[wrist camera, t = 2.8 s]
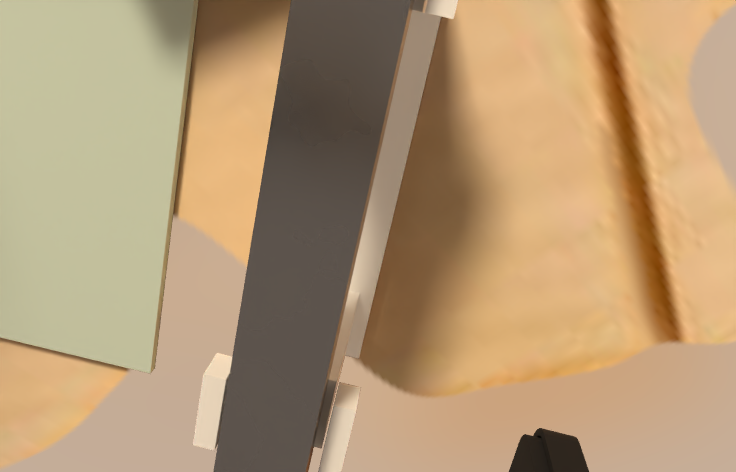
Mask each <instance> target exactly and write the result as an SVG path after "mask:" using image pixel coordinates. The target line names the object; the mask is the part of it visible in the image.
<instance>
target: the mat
mask: <svg viewBox="0 0 736 472" xmlns="http://www.w3.org/2000/svg"><path fill="white" fill-rule="evenodd" d="M198 2H199V0H0V338H5V339H9V340H13V341H17V342H21V343H25V344H30V345H34V346H38V347H42V348H46V349H50V350H54V351H59V352H63V353H67V354H71V355H75V356H79V357H84V358H88V359H92V360H96V361H100V362H104V363H108V364H113V365H117V366H121V367H125V368H129V369H133V370H138V371H142V372H146V373H151V372H152V371H153V369H154V368H155V362H156V354H157V346H158V337H159V329H160V320H161V311H162V302H163V295H164V286H165V278H166V270H167V261H168V253H169V245H170V236H171V228H172V220H173V211H174V203H175V195H176V186H177V178H178V169H179V161H180V153H181V144H182V136H183V127H184V119H185V111H186V102H187V94H188V85H189V77H190V69H191V60H192V52H193V44H194V35H195V27H196V18H197V10H198Z"/></svg>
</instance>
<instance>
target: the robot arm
mask: <svg viewBox="0 0 736 472" xmlns="http://www.w3.org/2000/svg"><path fill="white" fill-rule="evenodd" d="M509 472H589V470H588V467H587V464H586V461H585V459H584V455H583V453H582V449H581V446H580V443H579V441H578V439H577V438H576V437H574V436H570V435H566V434H562V433H558V432H554V431H550V430H546V429H542V428H539V429H537V430H536V432H535V433H534V436H530V435H526V434H525V435H523V436H522V437H521V439H520V442H519V444H518V447H517V450H516V453H515V456H514V459H513V461H512V464H511V467H510V470H509Z"/></svg>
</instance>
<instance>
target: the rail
mask: <svg viewBox="0 0 736 472" xmlns="http://www.w3.org/2000/svg"><path fill="white" fill-rule="evenodd" d="M413 5H414V0H291V5H290V11H289V17H288V23H287V29H286V35H285V41H284V47H283V53H282V59H281V66H280V72H279V78H278V84H277V90H276V96H275V102H274V108H273V114H272V120H271V126H270V132H269V138H268V144H267V150H266V157H265V163H264V169H263V175H262V181H261V187H260V193H259V199H258V205H257V211H256V217H255V223H254V229H253V235H252V241H251V247H250V254H249V260H248V266H247V272H246V278H245V284H244V290H243V296H242V303H241V308H240V314H239V320H238V327H237V333H236V338H235V345H234V351H233V357H232V363H231V369H230V375H229V381H228V387H227V393H226V399H225V405H224V411H223V417H222V423H221V429H220V435H219V442H218V448H217V454H216V460H215V466H214V472H308V470H309V465H310V461H311V456H312V452H313V448H314V443H315V439H316V434H317V430H318V426H319V421H320V417H321V412H322V408H323V403H324V399H325V395H326V390H327V386H328V381H329V377H330V372H331V368H332V364H333V359H334V355H335V350H336V346H337V341H338V337H339V333H340V328H341V324H342V319H343V315H344V310H345V306H346V302H347V297H348V293H349V288H350V284H351V279H352V275H353V271H354V266H355V262H356V257H357V253H358V248H359V244H360V240H361V235H362V231H363V226H364V222H365V217H366V213H367V209H368V204H369V200H370V195H371V191H372V186H373V182H374V178H375V173H376V169H377V164H378V160H379V155H380V151H381V147H382V142H383V138H384V133H385V129H386V124H387V120H388V116H389V111H390V107H391V102H392V98H393V93H394V89H395V85H396V80H397V76H398V71H399V67H400V62H401V58H402V54H403V49H404V45H405V40H406V36H407V31H408V27H409V22H410V18H411V14H412V9H413Z"/></svg>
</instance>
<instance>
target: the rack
mask: <svg viewBox="0 0 736 472" xmlns="http://www.w3.org/2000/svg"><path fill="white" fill-rule="evenodd" d="M457 2H458V0H414V5H413V9H412V14H411V18H410V22H409V27H408V31H407V36H406V40H405V45H404V49H403V54H402V58H401V62H400V67H399V71H398V76H397V80H396V85H395V89H394V93H393V98H392V102H391V107H390V111H389V116H388V120H387V124H386V129H385V133H384V138H383V142H382V147H381V151H380V155H379V160H378V164H377V169H376V173H375V178H374V182H373V186H372V191H371V195H370V200H369V204H368V209H367V213H366V217H365V222H364V226H363V231H362V235H361V240H360V244H359V248H358V253H357V257H356V262H355V266H354V271H353V275H352V279H351V284H350V288H349V293H348V297H347V302H346V306H345V310H344V315H343V319H342V324H341V328H340V333H339V337H338V341H337V346H336V350H335V355H334V359H333V364H332V368H331V372H330V377H329V381H328V386H327V390H326V395H325V399H324V403H323V408H322V412H321V417H320V421H319V426H318V430H317V434H316V439H315V443H314V447H318V448H322V444H323V440H324V436H325V432H326V428H327V424H328V421H329V417H330V412H331V409H332V405H333V401H334V397H335V393H336V389H337V385H338V381H339V377H340V373H341V369H342V365H343V361H344V357H345V356H349V357H354V358H358V359H359V356H360V352H361V348H362V343H363V339H364V335H365V331H366V327H367V323H368V319H369V314H370V310H371V306H372V302H373V298H374V294H375V290H376V285H377V281H378V277H379V273H380V269H381V265H382V260H383V256H384V252H385V248H386V244H387V240H388V236H389V231H390V227H391V223H392V219H393V215H394V211H395V207H396V202H397V198H398V194H399V190H400V186H401V182H402V177H403V173H404V169H405V165H406V161H407V157H408V153H409V148H410V144H411V140H412V136H413V132H414V128H415V123H416V119H417V115H418V111H419V107H420V103H421V99H422V94H423V90H424V86H425V82H426V78H427V74H428V70H429V65H430V61H431V57H432V53H433V49H434V45H435V40H436V36H437V32H438V28H439V24H440V20H441V17H445V18H450V19H454V15H455V11H456V7H457ZM231 363H232V356H228V355H224V354H219V353H217V354H216V355H215V357H214V359H213V360H212V362H211V363H210V365H209V366H208V368H207V369H206V371H205V373H204V374H203V380H202V387H201V394H200V401H199V408H198V414H197V421H196V428H195V434H194V441H193V445H194V446H198V447H202V448H207V449H211V450H215V448H216V446H217V444H218V442H219V435H220V429H221V423H222V417H223V411H224V405H225V399H226V393H227V387H228V381H229V375H230V369H231ZM360 389H361V388H360V387H357V386H353V385H349V384H345V383H341V382H340V383H339V386H338V390H337V394H336V398H335V403H334V407H333V411H332V415H331V420H330V424H329V428H328V432H327V437H326V441H325V445H324V450H323V454H322V458H321V462H320V467H319V471H318V472H341V471H342V468H343V463H344V459H345V455H346V451H347V447H348V443H349V439H350V435H351V431H352V427H353V423H354V419H355V415H356V411H357V405H358V400H359V395H360Z"/></svg>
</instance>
